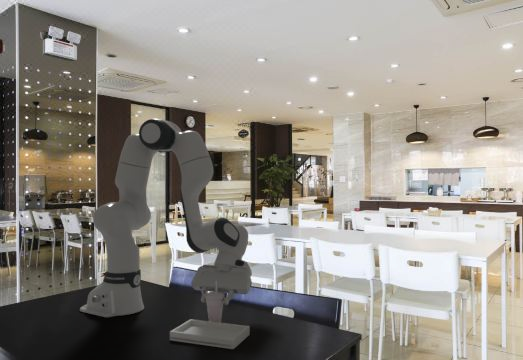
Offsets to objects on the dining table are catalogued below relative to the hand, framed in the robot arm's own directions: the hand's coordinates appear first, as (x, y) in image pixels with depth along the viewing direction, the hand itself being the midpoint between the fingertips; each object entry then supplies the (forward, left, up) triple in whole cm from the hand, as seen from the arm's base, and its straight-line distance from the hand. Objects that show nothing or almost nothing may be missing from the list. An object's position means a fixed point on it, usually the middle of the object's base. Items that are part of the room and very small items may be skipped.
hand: (214, 302), depth 134 cm
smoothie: (0, +1, -7) cm, 7 cm away
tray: (+4, -10, -7) cm, 13 cm away
